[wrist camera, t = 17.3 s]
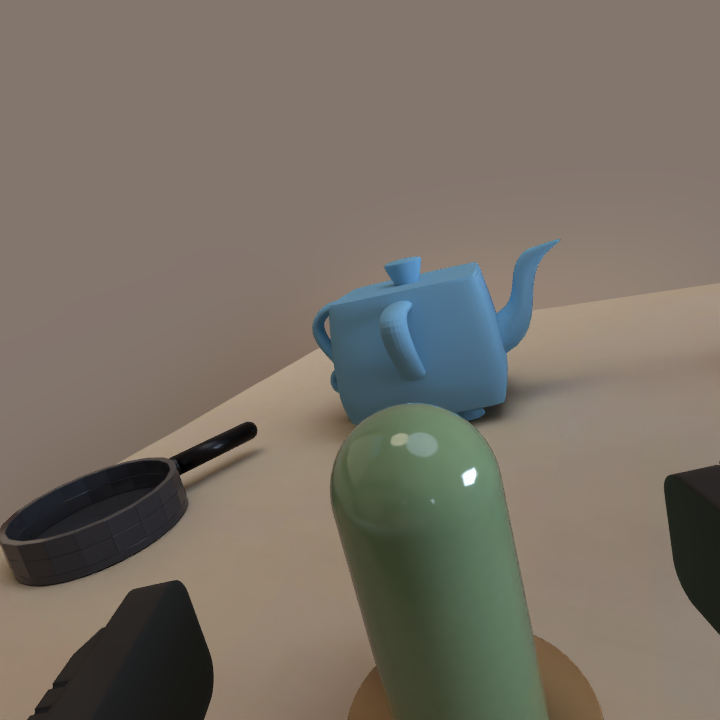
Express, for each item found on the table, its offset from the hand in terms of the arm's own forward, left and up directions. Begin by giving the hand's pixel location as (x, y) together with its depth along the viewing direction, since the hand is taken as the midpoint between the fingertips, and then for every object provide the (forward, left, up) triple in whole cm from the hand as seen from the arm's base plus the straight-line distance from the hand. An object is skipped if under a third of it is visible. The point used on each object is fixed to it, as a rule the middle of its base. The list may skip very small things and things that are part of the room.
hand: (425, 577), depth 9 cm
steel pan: (+3, +36, -10) cm, 38 cm away
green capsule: (+4, +4, -9) cm, 11 cm away
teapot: (+30, +24, -11) cm, 40 cm away
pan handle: (+13, +36, -9) cm, 39 cm away
